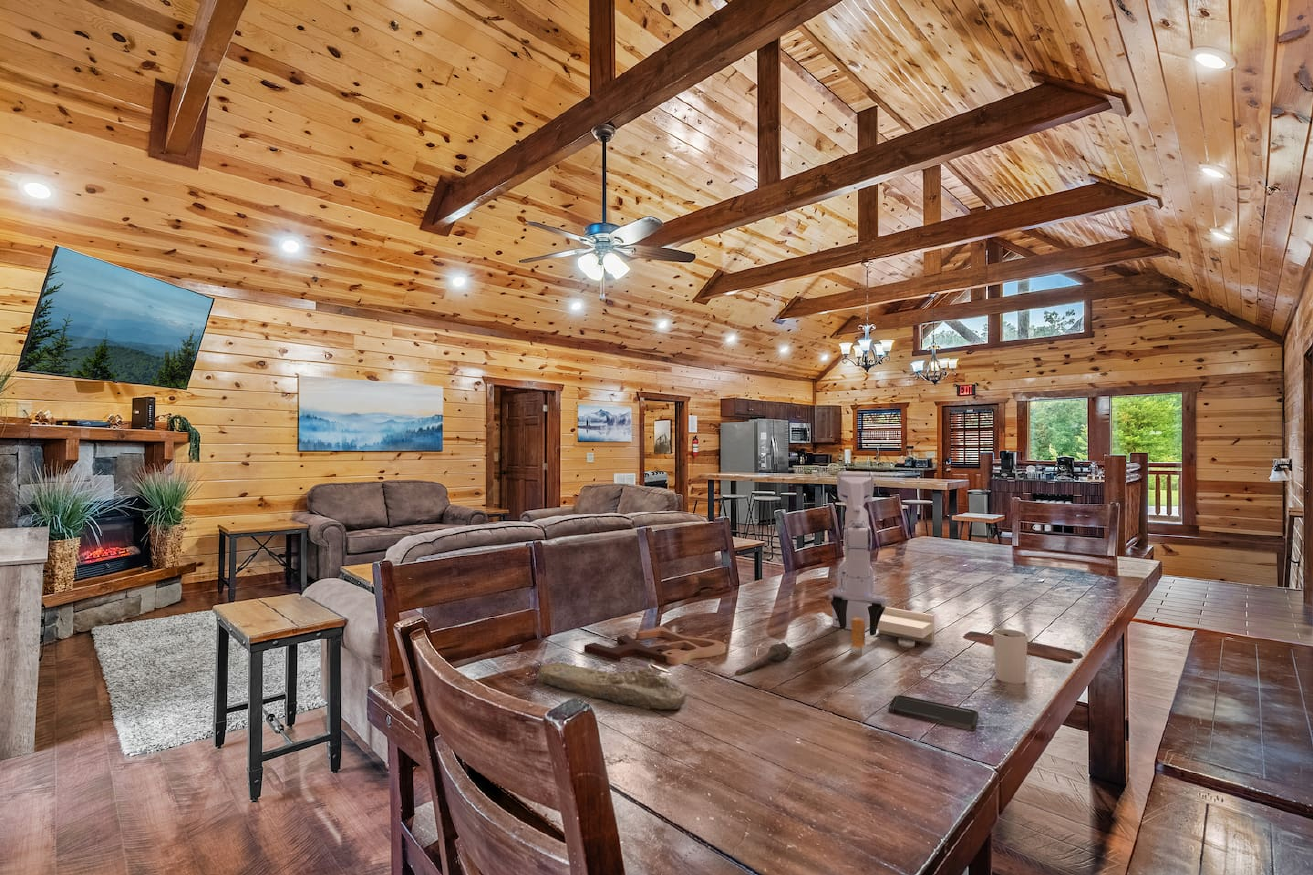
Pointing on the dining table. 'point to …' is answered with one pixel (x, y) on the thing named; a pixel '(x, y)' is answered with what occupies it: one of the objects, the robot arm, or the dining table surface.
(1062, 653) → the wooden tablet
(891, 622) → the cream shelf
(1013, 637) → the white cup
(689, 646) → the wood carving
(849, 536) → the robot arm
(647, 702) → the elongated rock
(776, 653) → the natural artifact
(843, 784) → the dining table surface
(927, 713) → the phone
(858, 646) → the blade tool
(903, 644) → the disc
